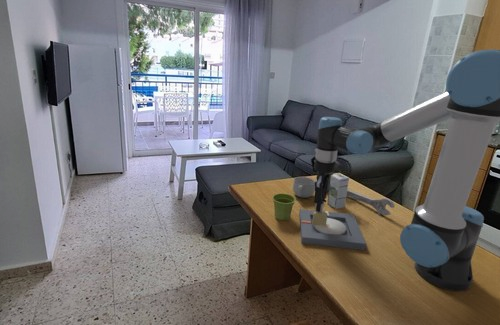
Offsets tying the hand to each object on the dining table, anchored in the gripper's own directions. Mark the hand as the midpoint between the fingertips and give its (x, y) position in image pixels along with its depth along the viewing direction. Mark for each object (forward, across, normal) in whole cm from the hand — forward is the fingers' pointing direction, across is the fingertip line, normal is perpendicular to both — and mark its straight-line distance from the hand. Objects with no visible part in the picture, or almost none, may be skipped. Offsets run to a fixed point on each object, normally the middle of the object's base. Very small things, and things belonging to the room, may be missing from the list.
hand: (317, 217), depth 117 cm
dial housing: (+4, 0, +5) cm, 6 cm away
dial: (+3, 0, +5) cm, 5 cm away
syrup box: (+4, -23, +2) cm, 24 cm away
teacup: (+4, -24, -15) cm, 29 cm away
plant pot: (+4, 0, -14) cm, 15 cm away
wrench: (+5, -32, +13) cm, 34 cm away
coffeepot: (+4, -41, -10) cm, 43 cm away
